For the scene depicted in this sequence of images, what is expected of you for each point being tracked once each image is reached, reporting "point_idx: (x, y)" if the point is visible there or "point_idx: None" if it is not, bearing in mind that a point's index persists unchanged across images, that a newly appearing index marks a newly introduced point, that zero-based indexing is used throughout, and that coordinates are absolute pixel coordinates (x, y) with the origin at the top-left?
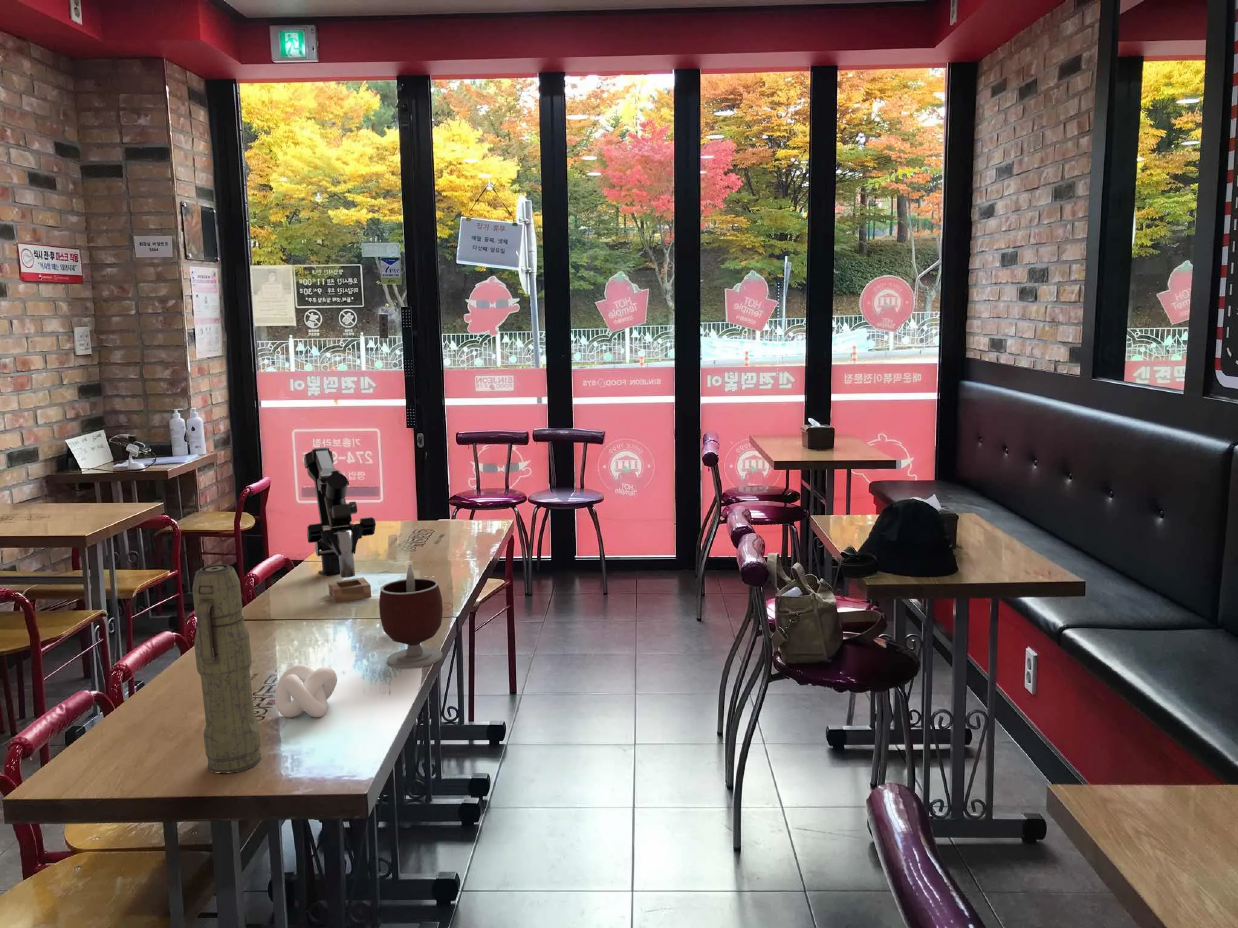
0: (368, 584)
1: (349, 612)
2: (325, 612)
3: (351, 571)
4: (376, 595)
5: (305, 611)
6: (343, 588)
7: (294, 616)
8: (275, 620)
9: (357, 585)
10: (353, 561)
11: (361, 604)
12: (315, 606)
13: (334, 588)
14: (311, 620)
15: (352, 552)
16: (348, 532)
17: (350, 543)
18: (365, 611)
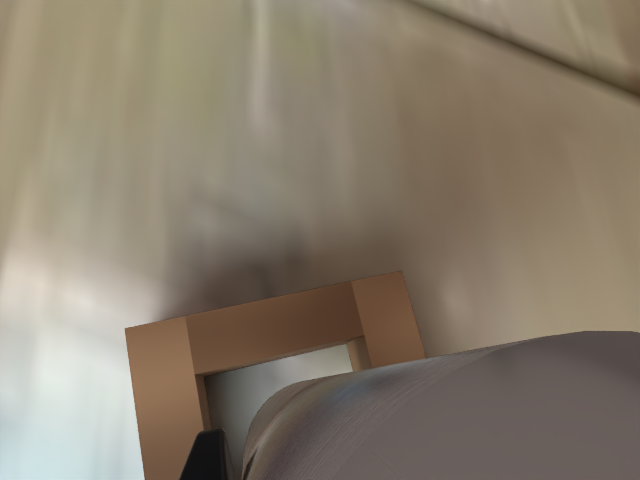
0: (139, 347)
1: (282, 53)
2: (409, 105)
3: (276, 395)
4: (106, 364)
5: (519, 167)
6: (337, 297)
7: (554, 101)
8: (627, 74)
9: (230, 349)
10: (247, 445)
11: (216, 179)
12: (483, 247)
13: (404, 324)
14: (457, 4)
15: (251, 454)
16: (371, 417)
17: (280, 430)
18: (197, 35)
